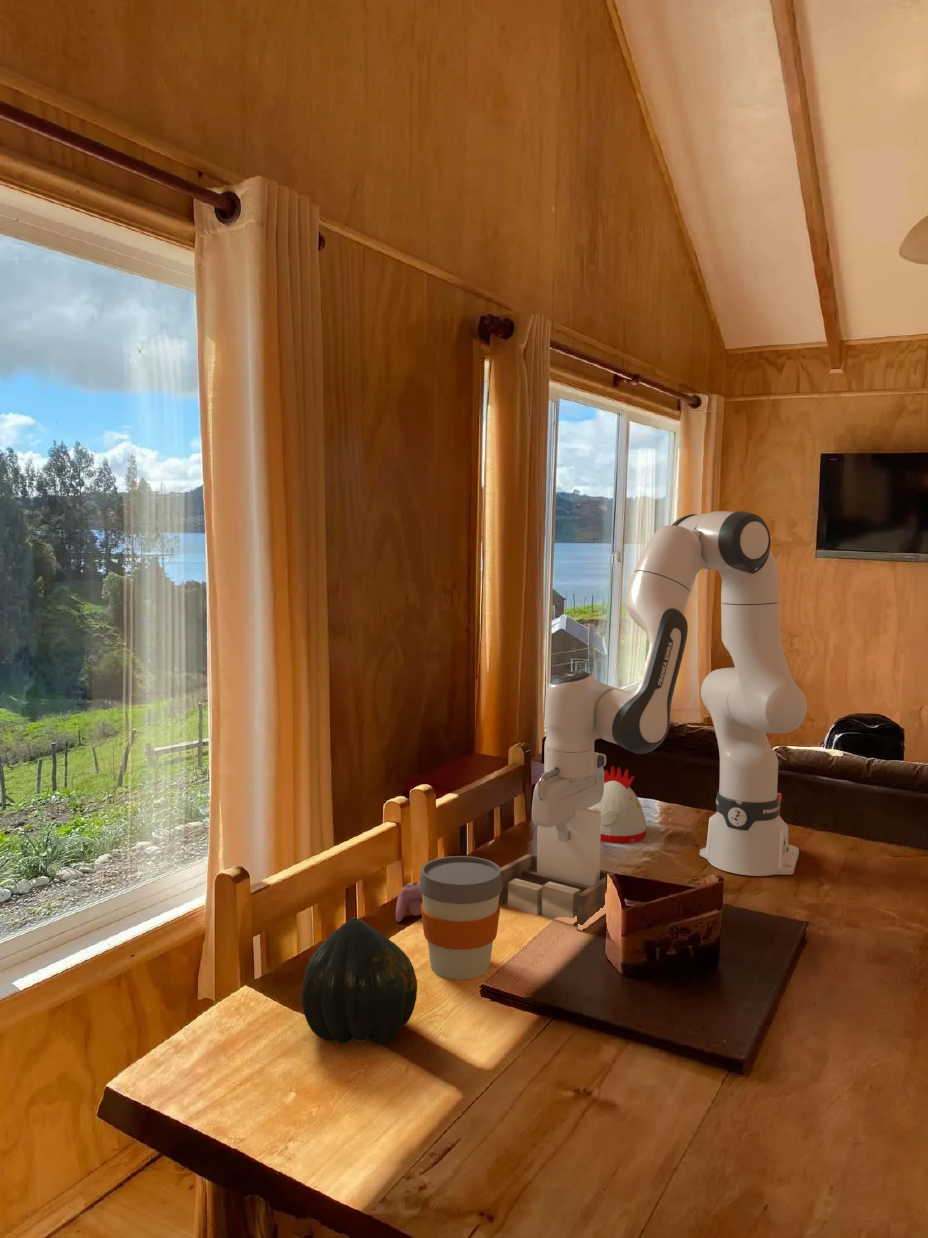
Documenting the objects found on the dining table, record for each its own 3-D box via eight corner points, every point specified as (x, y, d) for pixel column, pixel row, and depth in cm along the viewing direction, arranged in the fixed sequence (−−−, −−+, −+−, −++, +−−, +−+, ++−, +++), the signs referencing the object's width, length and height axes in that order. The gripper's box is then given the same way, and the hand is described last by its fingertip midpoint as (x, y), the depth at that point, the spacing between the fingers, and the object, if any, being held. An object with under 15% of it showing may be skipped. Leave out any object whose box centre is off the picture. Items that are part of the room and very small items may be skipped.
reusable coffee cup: (513, 957, 142) (515, 863, 141) (481, 993, 131) (482, 891, 130) (441, 941, 148) (441, 850, 146) (403, 974, 136) (404, 876, 135)
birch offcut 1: (514, 902, 164) (515, 878, 164) (543, 911, 160) (544, 886, 160) (507, 907, 162) (508, 882, 162) (536, 915, 158) (537, 890, 158)
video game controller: (454, 926, 157) (456, 883, 160) (451, 924, 153) (454, 881, 156) (397, 923, 158) (400, 881, 161) (393, 921, 154) (396, 878, 157)
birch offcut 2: (548, 912, 160) (549, 881, 159) (579, 921, 156) (580, 889, 156) (541, 916, 158) (542, 885, 157) (572, 925, 154) (573, 894, 154)
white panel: (541, 874, 170) (541, 800, 168) (599, 888, 163) (600, 811, 161) (536, 876, 168) (537, 802, 167) (595, 891, 161) (596, 813, 160)
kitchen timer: (630, 847, 194) (632, 778, 193) (572, 835, 201) (573, 768, 200) (655, 830, 205) (657, 764, 204) (598, 819, 213) (600, 756, 212)
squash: (376, 1040, 108) (407, 916, 117) (266, 1021, 114) (304, 903, 122) (414, 1069, 119) (440, 953, 128) (312, 1050, 124) (344, 940, 133)
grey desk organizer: (530, 883, 173) (530, 852, 172) (617, 906, 162) (618, 873, 162) (491, 905, 162) (492, 872, 162) (582, 931, 152) (582, 896, 151)
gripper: (555, 778, 153) (554, 858, 155) (610, 754, 170) (609, 827, 171) (523, 772, 157) (522, 851, 158) (580, 749, 173) (579, 821, 175)
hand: (568, 838), depth 165 cm, fingers closed on white panel, 2 cm apart
